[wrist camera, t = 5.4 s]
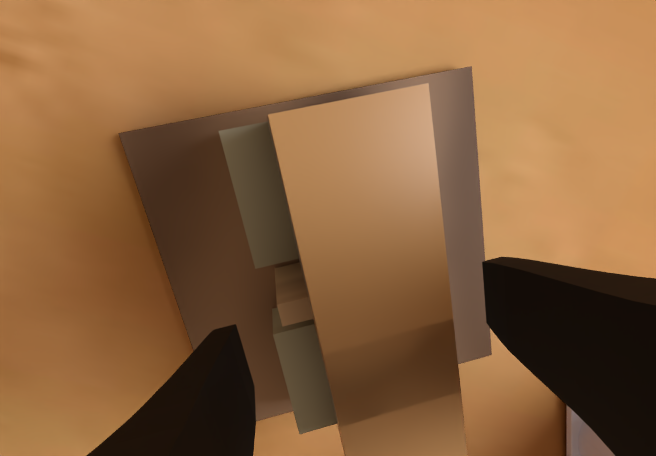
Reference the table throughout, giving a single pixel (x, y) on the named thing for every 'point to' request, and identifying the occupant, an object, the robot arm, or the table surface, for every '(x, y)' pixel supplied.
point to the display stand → (288, 237)
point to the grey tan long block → (376, 268)
